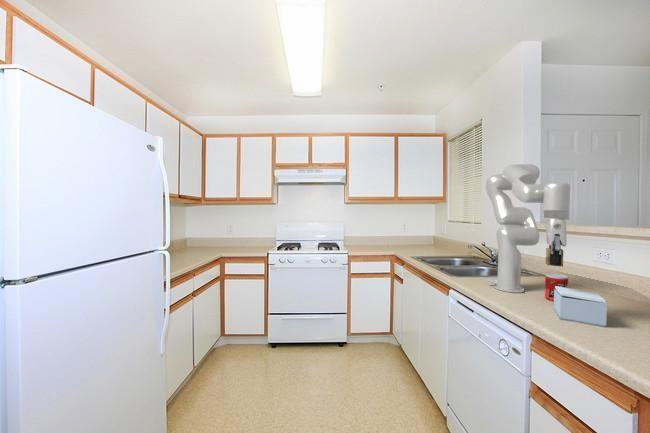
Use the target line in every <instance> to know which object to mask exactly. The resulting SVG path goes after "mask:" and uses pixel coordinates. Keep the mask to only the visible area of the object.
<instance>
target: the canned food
mask: <svg viewBox="0 0 650 433" xmlns="http://www.w3.org/2000/svg"><path fill="white" fill-rule="evenodd" d="M544 278H545V281H544V283H545V284H544V285H545V287H544V299H545V300H547V301H549V302H553V303H554V289H556V288H555V286H559V287H565V288H569V276H567V275H565V274H560V273H552V272H551V273H546V274H545V277H544Z"/></svg>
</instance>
